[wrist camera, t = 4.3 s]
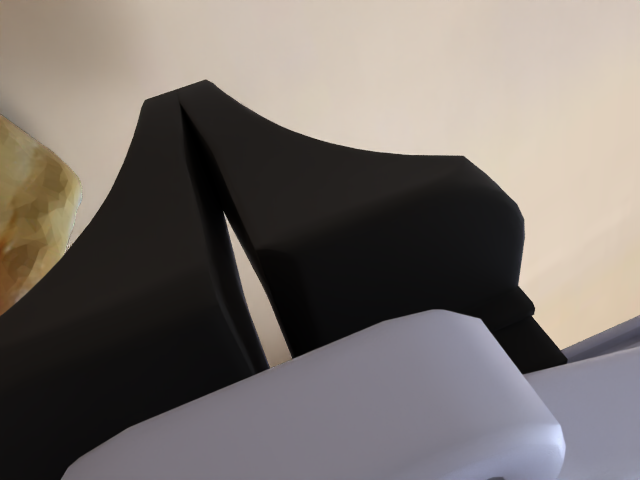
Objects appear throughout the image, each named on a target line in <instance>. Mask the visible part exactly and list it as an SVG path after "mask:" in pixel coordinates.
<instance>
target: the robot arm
mask: <svg viewBox="0 0 640 480" xmlns="http://www.w3.org/2000/svg"><path fill="white" fill-rule="evenodd" d="M223 211H224V212H223ZM224 213H225V215H226V217H227V219H228V221H229V223H230V225H231V227H232V229H233V231H234V232H235V234H236V236H237V238H238V240H239V242H240V244H241V246H242V248H243V250H244V252H245V253H246V255H247V257H248V259H249V261H250V263H251V265H252V267H253V269H254V271H255V273H256V274H257V276H258V278H259V280H260V282H261V284H262V286H263V288H264V290H265V292H266V295H267V297H268V299H269V301H270V303H271V306H272V308H273V311H274V313H275V316H276V319H277V321H278V324H279V326H280V329H281V331H282V334H283V336H284V339H285V341H286V344H287V346H288V349H289V351H290V354H291V357H292V360H289V361H287V362H284V363H282V364H280V365H277V366H275V367H273V368H270V367H269V364H268V362H267V359H266V356H265V354H264V351H263V348H262V345H261V343H260V340H259V337H258V334H257V332H256V329H255V326H254V323H253V321H252V318H251V315H250V313H249V310H248V306H247V303H246V300H245V296H244V293H243V289H242V285H241V281H240V277H239V273H238V269H237V265H236V260H235V256H234V252H233V248H232V244H231V240H230V236H229V232H228V228H227V224H226V220H225V216H224ZM524 239H525V231H524V218H523V216H522V214H521V212H520V210H519V207H518V205H517V204H516V203H515V202H514V201H513V200H512V199H511V198H510V197H509V196H508V195H507V194H506V193H505V192H504V191H503V190H502V189H501V188H500V187H499V186H498V185H497V184H496V183H495V182H494V181H493V180H492V179H491V178H490V177H489V176H488V175H487V174H485V173H484V172H483V171H482V170H480V169H479V168H478V167H477V166H475V165H474V164H473V163H472V162H470V161H469V160H468V159H467V158H465V157H464V156H438V155H402V154H392V153H381V152H373V151H367V150H360V149H355V148H350V147H345V146H341V145H336V144H332V143H328V142H324V141H320V140H317V139H314V138H311V137H308V136H305V135H302V134H299V133H296V132H294V131H291V130H289V129H286V128H284V127H282V126H279V125H277V124H275V123H273V122H271V121H269V120H267V119H266V118H264V117H262V116H260V115H258V114H257V113H255V112H253V111H252V110H250V109H248V108H247V107H245V106H243V105H242V104H240V103H239V102H237V101H236V100H234V99H233V98H231V97H230V96H229V95H227V94H226V93H224V92H223V91H222V90H220V89H219V88H218V87H217V86H216V85H214V84H213V83H212V82H210V81H208V80H203V81H200V82H197V83H194V84H191V85H188V86H185V87H182V88H179V89H176V90H173V91H170V92H167V93H164V94H161V95H158V96H155V97H152V98H150V99H147V100H145V101H144V103H143V105H142V107H141V112H140V116H139V119H138V123H137V126H136V130H135V133H134V136H133V139H132V142H131V144H130V147H129V150H128V153H127V155H126V158H125V160H124V163H123V165H122V167H121V169H120V172H119V174H118V176H117V178H116V180H115V182H114V184H113V187H112V189H111V191H110V192H109V194H108V196H107V198H106V199H105V201H104V202H103V204H102V205H101V207H100V209H99V210H98V212H97V213H96V215H95V216H94V218H93V219H92V220H91V222H90V223H89V225H88V226H87V227H86V228H85V230H84V231H83V232H82V233H81V235H80V236H79V237H78V238H77V240H76V241H75V242H74V243H73V244H72V246H71V247H70V248H69V249H68V251H67V252H66V253H65V254H64V256H63V257H62V258H61V259H60V260H59V261H58V262H57V263H56V264H55V265H54V266H53V267H52V268H51V270H50V271H49V272H48V273H47V274H46V275H45V276H44V277H43V278H42V279H41V280H40V281H39V282H38V283H37V284H36V285H35V286H34V287H32V288H31V289H30V290H29V291H28V292H27V293H26V294H25V295H24V296H23V297H22V298H21V299H20V300H19V301H17V302H16V303H15V304H14V305H13V306H12V307H11V308H9V309H8V310H7V311H6V312H5V313H3V314H2V315H1V316H0V480H640V315H639V316H637V317H634V318H632V319H630V320H628V321H626V322H623V323H621V324H619V325H617V326H614V327H612V328H610V329H608V330H605V331H603V332H601V333H599V334H596V335H594V336H592V337H590V338H587V339H585V340H583V341H581V342H578V343H576V344H574V345H572V346H569V347H567V348H565V349H563V350H560V349H559V348H558V347H557V346H556V345H555V343H554V342H553V341H552V340H551V339H550V337H549V336H548V335H547V334H546V333H545V332H544V330H543V329H542V328H541V327H540V326H539V324H538V323H537V322H536V321H535V320H534V318H533V317H532V315H534V312H535V307H534V305H533V302H532V301H531V300H530V299H529V298H528V297H527V295H526V294H525V293H524V292H523V291H522V290H521V288H520V287H519V286H518V282H519V275H520V268H521V261H522V253H523V246H524Z"/></svg>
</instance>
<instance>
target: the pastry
mask: <svg viewBox="0 0 640 480" xmlns="http://www.w3.org/2000/svg"><path fill="white" fill-rule="evenodd" d="M81 201H82V187H81V182H80V180H79V178H78V177H77V175H76V174H75V173H74V172H73V171H72V170H71V168H70V167H68V166H67V165H66V164H65V163H64V162H63V161H62V160H61V159H60V158H59V157H58V156H57V155H56V154H55V153H54V152H52V151H51V150H49V149H48V148H47V147H45V146H44V145H42V144H41V143H40V142H38V141H37V140H35V139H34V138H32V137H31V136H30V135H28V134H27V133H25V132H24V131H23V130H21V129H20V128H19V127H17V126H16V125H14V124H13V123H12V122H10V121H9V120H8V119H6V118H5V117H4V116H2V115H1V114H0V316H1V315H2V314H3V313H5V312H6V311H7V310H8V309H9V308H11V307H12V306H13V305H14V304H15V303H16V302H17V301H19V300H20V299H21V298H22V297H23V296H24V295H25V294H26V293H27V292H28V291H29V290H30V289H31V288H32V287H34V286H35V285H36V284H37V283H38V282H39V281H40V280H41V279H42V278H43V277H44V276H45V275H46V274H47V273H48V272H49V271H50V270H51V268H52V267H53V266H54V265H55V264H56V263H57V262H58V261H59V260H60V259H61V258H62V257H63V255H64V252H65V249H66V247H67V244H68V241H69V237H70V234H71V231H72V229H73V226H74V224H75V216H76V213H77V209H78V206H79V205H80V203H81Z"/></svg>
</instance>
